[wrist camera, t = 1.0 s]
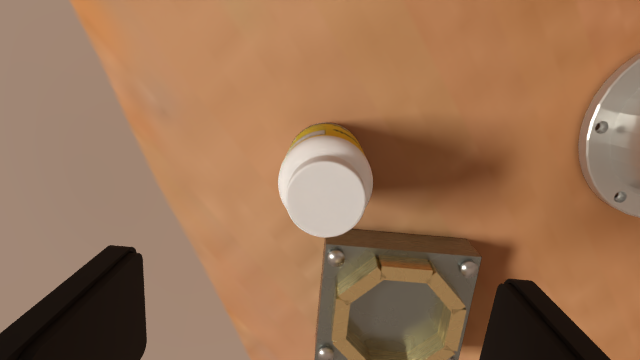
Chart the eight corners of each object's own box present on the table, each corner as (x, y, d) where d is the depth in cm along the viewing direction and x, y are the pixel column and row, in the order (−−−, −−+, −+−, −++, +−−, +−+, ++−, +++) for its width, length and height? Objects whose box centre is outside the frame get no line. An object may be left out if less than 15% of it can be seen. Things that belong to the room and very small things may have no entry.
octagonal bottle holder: (466, 238, 29) (491, 268, 25) (443, 345, 32) (462, 389, 28) (325, 227, 29) (325, 254, 25) (315, 334, 32) (313, 377, 28)
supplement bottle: (374, 172, 28) (399, 224, 19) (310, 204, 29) (302, 269, 19) (341, 107, 27) (350, 127, 17) (275, 142, 27) (248, 179, 18)
